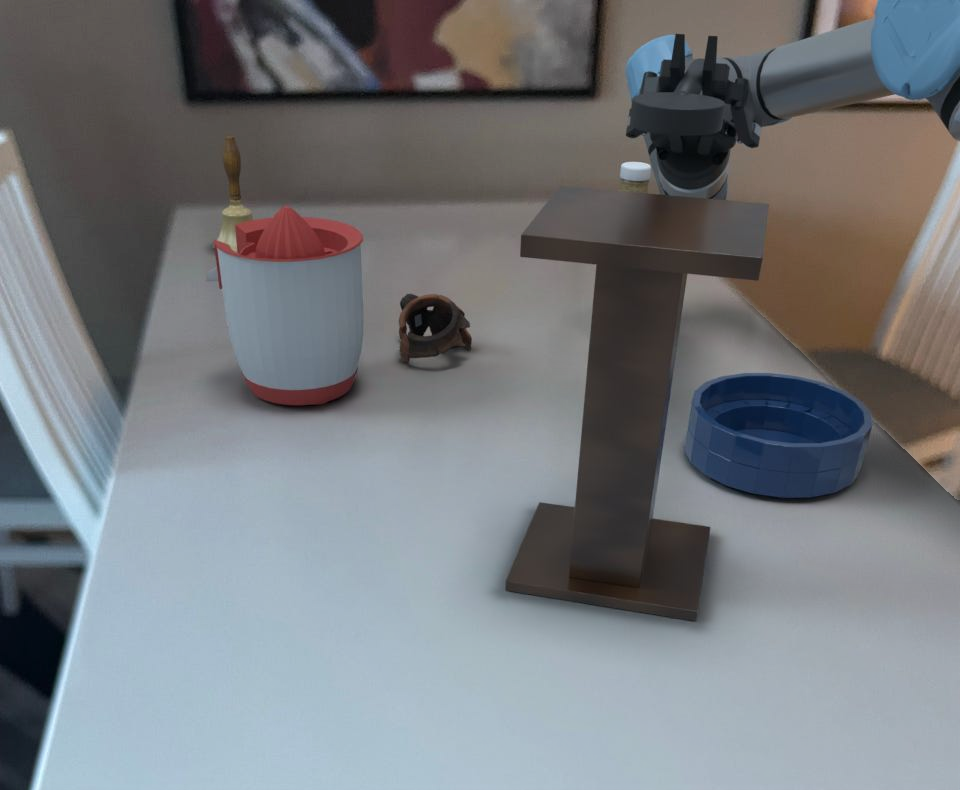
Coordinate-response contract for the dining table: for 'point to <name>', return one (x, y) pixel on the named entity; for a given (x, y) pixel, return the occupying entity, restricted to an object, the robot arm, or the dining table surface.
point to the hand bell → (232, 195)
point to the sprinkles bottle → (635, 177)
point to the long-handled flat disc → (679, 108)
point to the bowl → (777, 434)
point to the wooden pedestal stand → (630, 393)
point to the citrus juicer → (294, 305)
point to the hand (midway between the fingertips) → (693, 52)
